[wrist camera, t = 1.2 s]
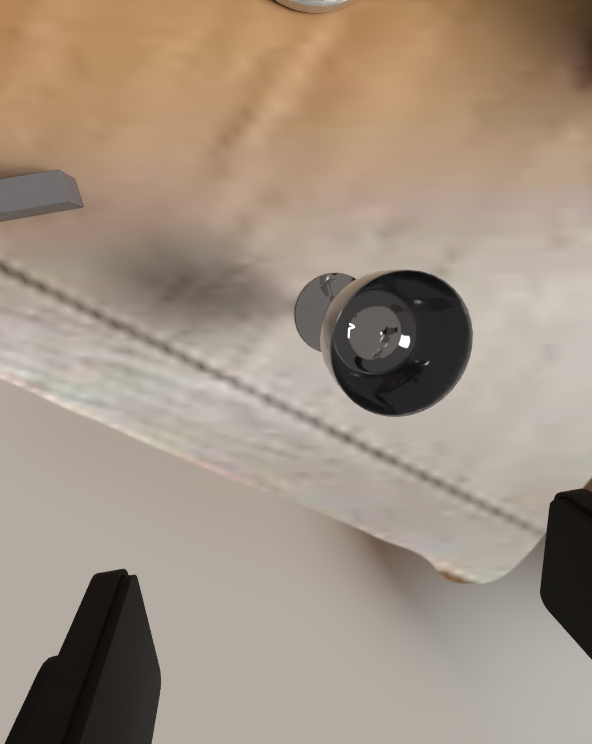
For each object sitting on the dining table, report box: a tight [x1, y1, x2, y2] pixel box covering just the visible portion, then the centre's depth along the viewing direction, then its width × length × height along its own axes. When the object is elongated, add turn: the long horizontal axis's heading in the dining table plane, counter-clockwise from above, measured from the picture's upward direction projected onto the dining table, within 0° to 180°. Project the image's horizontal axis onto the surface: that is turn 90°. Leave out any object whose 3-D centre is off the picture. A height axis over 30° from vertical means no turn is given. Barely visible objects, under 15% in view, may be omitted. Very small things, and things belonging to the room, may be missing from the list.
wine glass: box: [295, 269, 473, 417], centre depth 29 cm, size 8×8×15 cm
